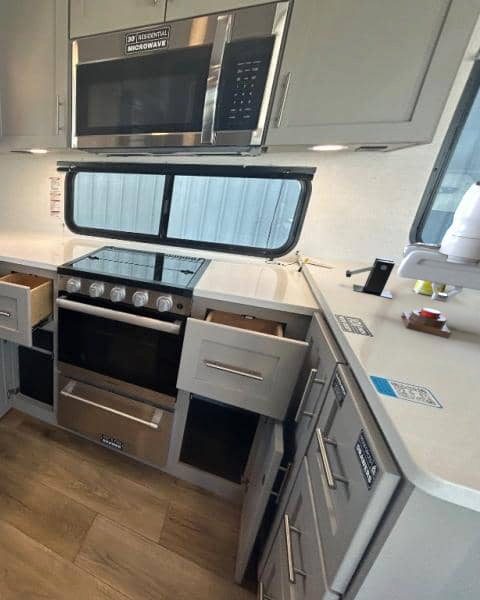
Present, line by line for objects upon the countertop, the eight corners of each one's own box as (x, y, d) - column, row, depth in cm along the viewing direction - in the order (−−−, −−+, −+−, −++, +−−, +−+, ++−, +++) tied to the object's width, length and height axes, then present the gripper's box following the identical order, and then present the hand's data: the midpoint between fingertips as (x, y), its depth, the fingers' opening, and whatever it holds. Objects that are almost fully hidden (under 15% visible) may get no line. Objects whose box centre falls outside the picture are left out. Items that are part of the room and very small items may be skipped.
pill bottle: (441, 300, 109) (459, 267, 104) (417, 297, 111) (433, 264, 106) (430, 294, 115) (446, 262, 110) (407, 290, 117) (422, 259, 112)
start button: (418, 312, 90) (421, 306, 89) (436, 316, 88) (439, 310, 87) (420, 316, 87) (423, 310, 86) (439, 320, 85) (442, 314, 84)
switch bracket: (352, 293, 111) (366, 259, 106) (352, 287, 117) (365, 255, 112) (391, 301, 105) (407, 266, 101) (388, 294, 111) (404, 261, 107)
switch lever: (347, 279, 112) (344, 272, 112) (346, 275, 116) (344, 269, 115) (390, 269, 104) (388, 262, 104) (389, 266, 108) (386, 259, 108)
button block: (401, 316, 94) (406, 305, 93) (439, 325, 90) (445, 313, 89) (405, 328, 87) (411, 316, 86) (448, 338, 83) (455, 326, 81)
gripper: (410, 243, 83) (388, 293, 89) (535, 258, 72) (501, 315, 77) (406, 239, 88) (386, 287, 93) (523, 253, 77) (492, 307, 82)
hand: (439, 300), depth 85 cm, fingers closed
